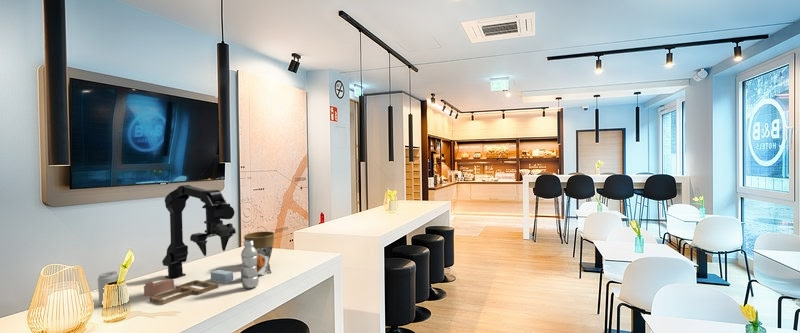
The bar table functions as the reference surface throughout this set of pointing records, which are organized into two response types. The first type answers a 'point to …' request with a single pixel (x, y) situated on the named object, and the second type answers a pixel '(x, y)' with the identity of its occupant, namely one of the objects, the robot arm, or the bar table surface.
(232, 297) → the bar table surface
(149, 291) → the block
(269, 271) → the meal
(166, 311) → the bar table surface
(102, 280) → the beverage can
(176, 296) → the jig
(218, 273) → the light blue rectangular block
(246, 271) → the plastic bottle
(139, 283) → the bar table surface
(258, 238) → the plant pot
